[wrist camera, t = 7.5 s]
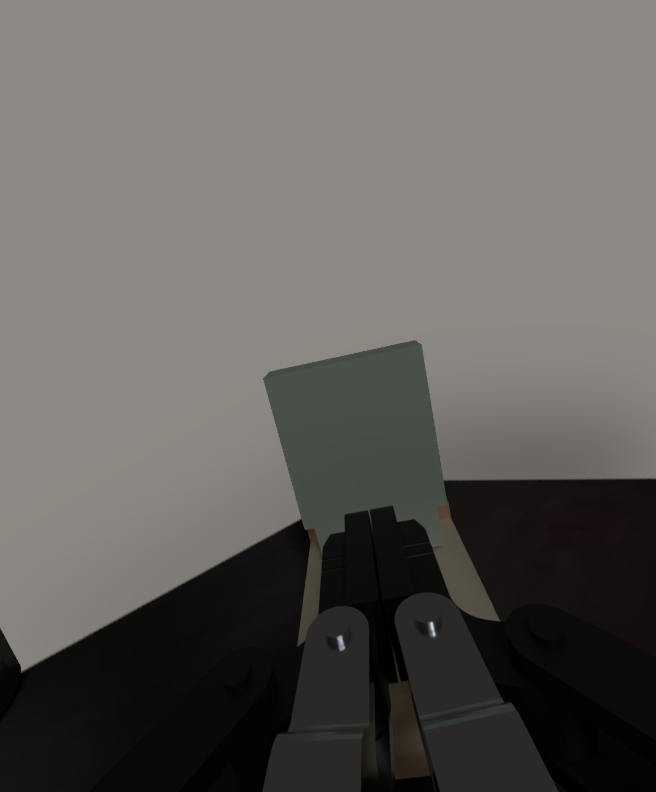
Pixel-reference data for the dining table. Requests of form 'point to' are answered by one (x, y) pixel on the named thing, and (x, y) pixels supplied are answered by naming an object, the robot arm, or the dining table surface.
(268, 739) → the robot arm
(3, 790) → the dining table surface
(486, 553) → the dining table surface
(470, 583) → the beige open box
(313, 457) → the green rectangular slab
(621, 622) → the dining table surface
